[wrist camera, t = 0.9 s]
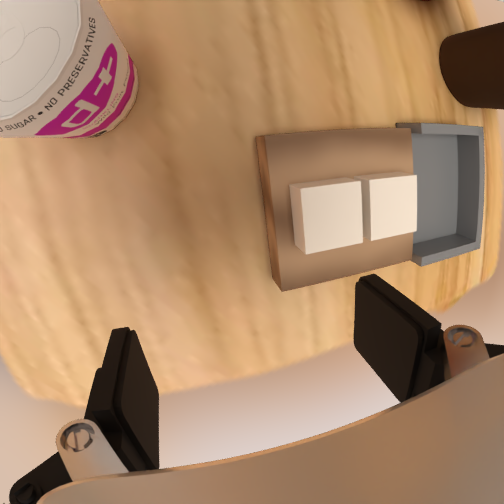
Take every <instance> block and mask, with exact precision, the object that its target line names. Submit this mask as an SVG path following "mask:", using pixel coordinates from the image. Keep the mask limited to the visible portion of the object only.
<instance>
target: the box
mask: <svg viewBox="0 0 504 504" xmlns="http://www.w3.org/2000/svg"><path fill="white" fill-rule="evenodd" d="M396 128H411V137H412V152H413V174H414V175H417V231H415V232H413V250H412V260H411V261H412V262H414V263H416V264H417V265H419V266H421V267H422V266H425V265H428V264H432V263H435V262H438V261H442V260H445V259H448V258H451V257H455V256H458V255H461V254H464V253H467V252H470V251H473V250H476V249H480V243H481V233H482V221H483V206H484V174H485V165H484V133H483V127H478V126H466V125H452V124H434V123H396Z"/></svg>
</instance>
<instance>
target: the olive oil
mask: <svg viewBox="0 0 504 504" xmlns="http://www.w3.org/2000/svg"><path fill="white" fill-rule="evenodd" d="M440 65H441V70H442V74H443V77H444V79H445V82H446V84H447V86H448V88H449V90H450V91H451V93H452V94H453V95H454V97H455V98H456V99H457V100H458V101H459V102H460V103H462V104H463V105H465V106H468V107H474V108H492V109H504V22H502V23H497V24H493V25H489V26H485V27H481V28H477V29H473V30H470V31H466V32H462V33H458V34H455V35H451V36H449V37H447V38H446V39H445V40H444V41H443V43H442V46H441V49H440Z"/></svg>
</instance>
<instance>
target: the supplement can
mask: <svg viewBox="0 0 504 504" xmlns="http://www.w3.org/2000/svg"><path fill="white" fill-rule="evenodd" d="M138 87H139V82H138V74H137V68H136V67H135V65H134V63H133V61H132V60H131V58H130V56H129V54H128V53H127V51H126V49H125V47H124V46H123V44H122V42H121V40H120V39H119V37H118V35H117V33H116V32H115V30H114V28H113V26H112V25H111V23H110V21H109V19H108V18H107V16H106V14H105V12H104V11H103V9H102V7H101V5H100V4H99V2H98V0H0V137H3V138H12V137H44V138H79V139H82V138H91V137H98V136H100V135H102V134H104V133H106V132H108V131H110V130H113V129H114V128H115V127H116V126H117V125H118V124H119V123H120V122H121V121H122V120H124V119H125V118H126V116H127V115H128V113H129V111H130V110H131V108H132V106H133V104H134V103H135V100H136V96H137V91H138Z"/></svg>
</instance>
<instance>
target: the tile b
mask: <svg viewBox="0 0 504 504" xmlns="http://www.w3.org/2000/svg"><path fill="white" fill-rule="evenodd" d="M354 179H355V180H359V181H361V195H362V223H363V237H365V238H367V239H368V240H370V241H373V240H378V239H382V238H387V237H392V236H396V235H401V234H406V233H410V232H415V231H417V175H414V174H409V173H404V172H390V173H380V174H370V175H361V176H354Z"/></svg>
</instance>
